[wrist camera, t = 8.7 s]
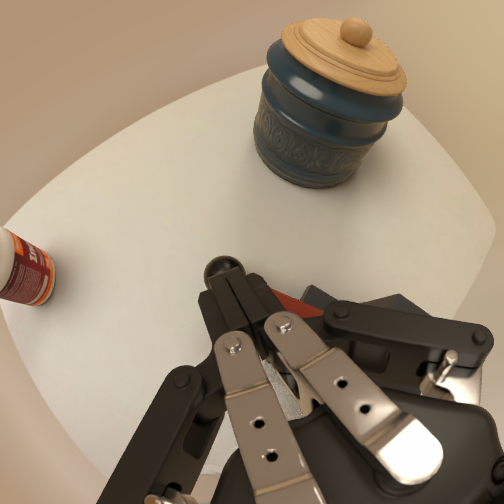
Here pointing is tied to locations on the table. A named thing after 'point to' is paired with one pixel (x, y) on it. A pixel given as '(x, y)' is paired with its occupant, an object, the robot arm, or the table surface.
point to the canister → (325, 100)
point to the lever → (288, 302)
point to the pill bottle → (24, 271)
